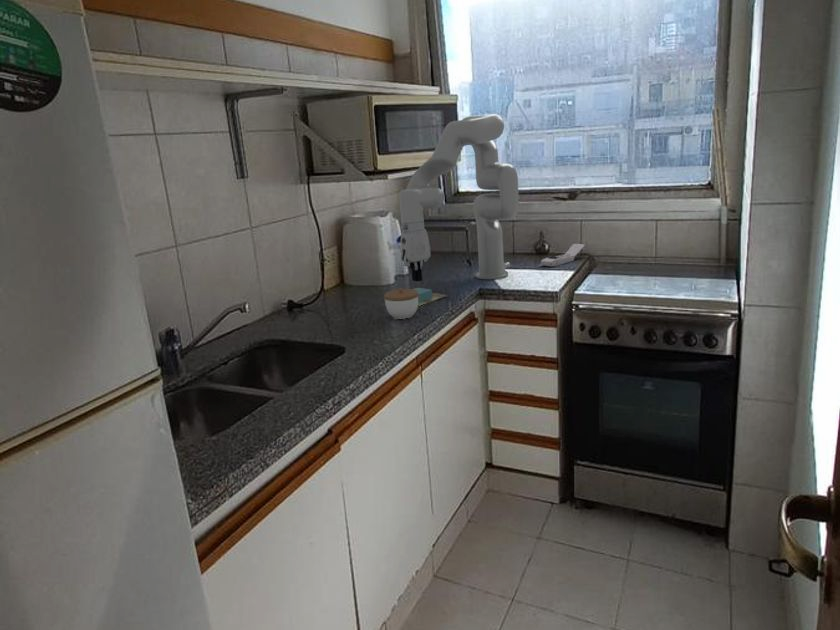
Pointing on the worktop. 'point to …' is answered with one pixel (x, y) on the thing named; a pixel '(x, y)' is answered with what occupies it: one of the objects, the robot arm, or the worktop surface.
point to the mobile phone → (562, 256)
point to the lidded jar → (401, 303)
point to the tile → (424, 294)
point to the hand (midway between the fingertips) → (417, 280)
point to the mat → (435, 296)
